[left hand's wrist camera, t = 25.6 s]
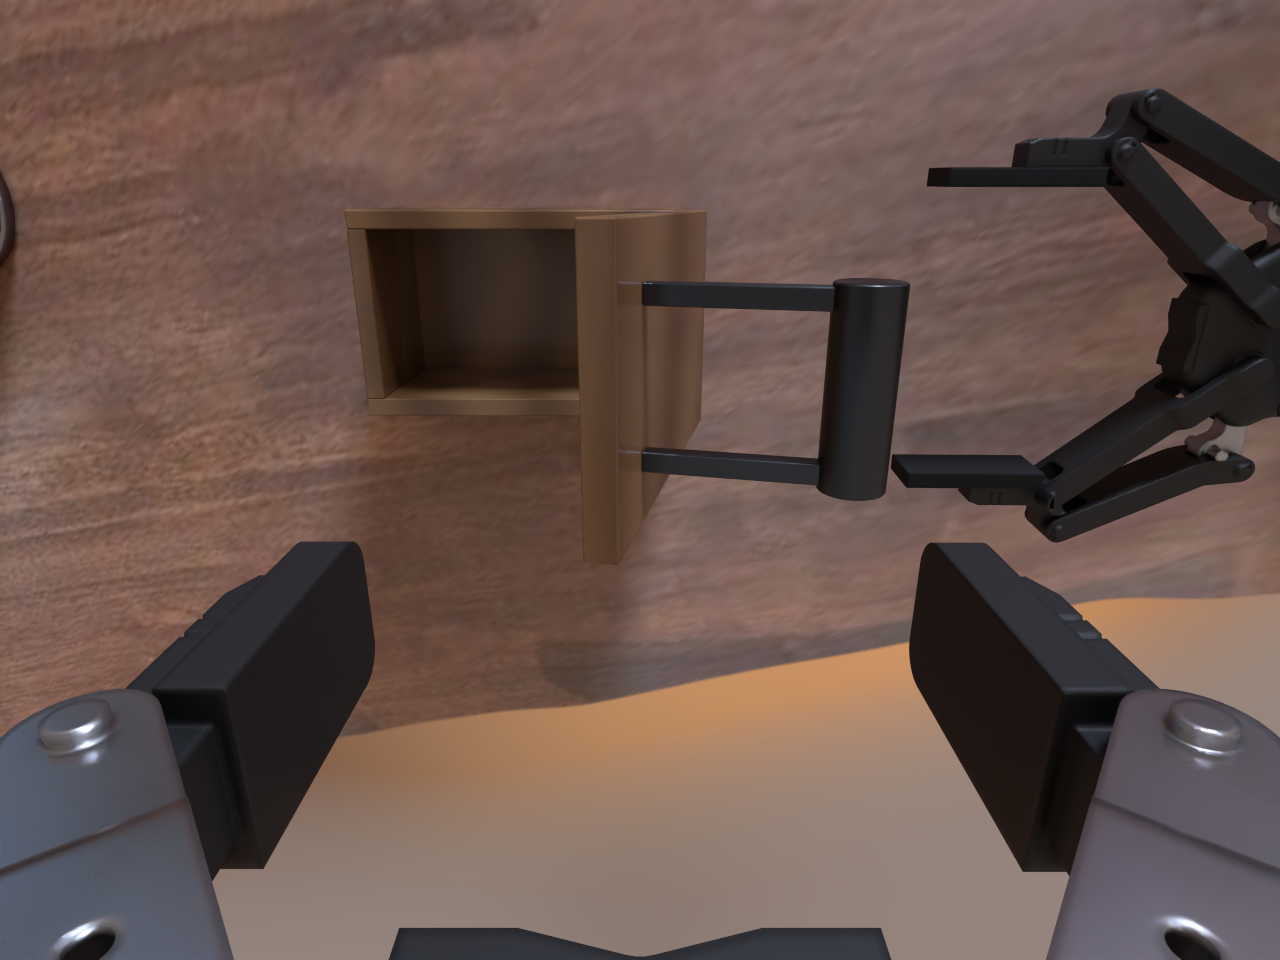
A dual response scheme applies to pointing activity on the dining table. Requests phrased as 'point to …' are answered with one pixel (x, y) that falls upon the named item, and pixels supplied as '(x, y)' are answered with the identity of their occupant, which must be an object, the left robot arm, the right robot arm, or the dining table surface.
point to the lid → (672, 372)
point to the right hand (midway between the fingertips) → (916, 334)
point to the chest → (468, 309)
